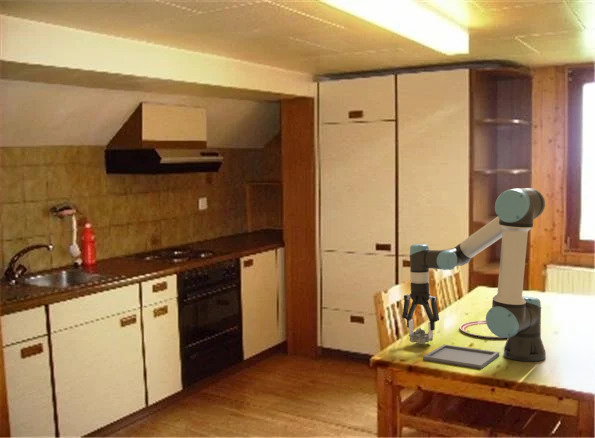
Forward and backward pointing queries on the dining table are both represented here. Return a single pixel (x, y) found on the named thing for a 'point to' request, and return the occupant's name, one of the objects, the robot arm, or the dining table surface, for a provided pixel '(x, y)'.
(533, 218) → the robot arm
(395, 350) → the dining table surface
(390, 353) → the dining table surface
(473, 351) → the holder tray
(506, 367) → the dining table surface
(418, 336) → the egg carton
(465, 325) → the striped ring
